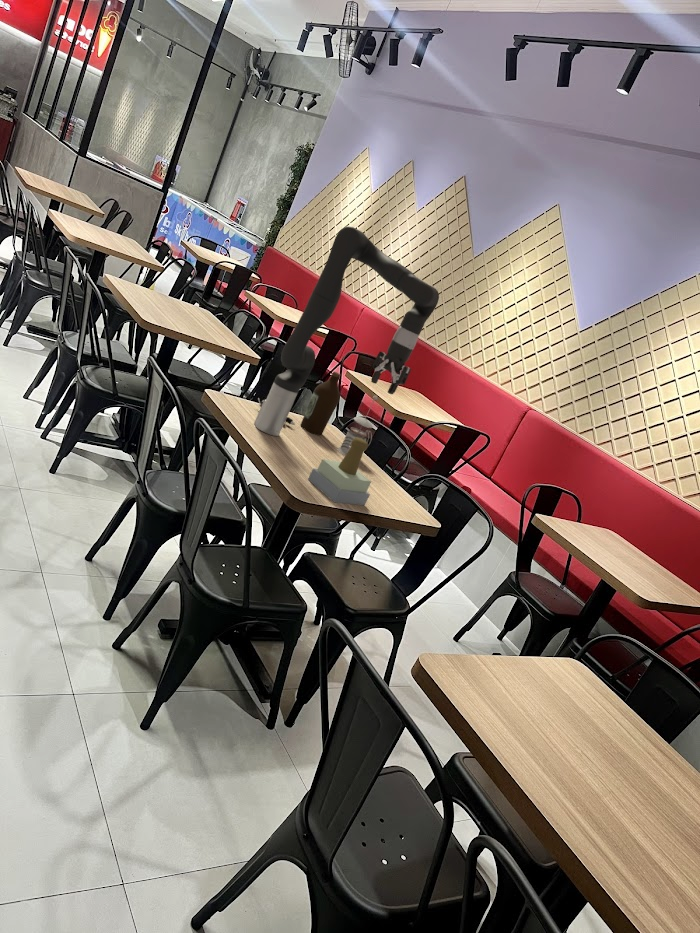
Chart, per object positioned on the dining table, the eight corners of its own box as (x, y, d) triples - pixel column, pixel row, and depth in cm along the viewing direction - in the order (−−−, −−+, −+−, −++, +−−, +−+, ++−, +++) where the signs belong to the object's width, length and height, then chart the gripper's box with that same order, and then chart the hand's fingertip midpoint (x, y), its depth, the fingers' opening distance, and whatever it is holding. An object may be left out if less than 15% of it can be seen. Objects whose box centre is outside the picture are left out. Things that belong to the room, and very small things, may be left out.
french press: (349, 449, 276) (376, 392, 269) (367, 463, 269) (395, 405, 262) (332, 446, 269) (359, 388, 262) (350, 460, 262) (379, 401, 255)
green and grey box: (307, 479, 220) (318, 457, 218) (338, 483, 230) (348, 462, 228) (334, 502, 211) (345, 479, 209) (364, 505, 221) (375, 483, 219)
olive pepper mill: (347, 466, 222) (361, 436, 220) (359, 475, 219) (374, 445, 216) (334, 464, 218) (349, 433, 215) (347, 474, 214) (362, 443, 211)
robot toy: (293, 431, 268) (280, 413, 279) (298, 421, 266) (284, 403, 277) (266, 424, 261) (253, 405, 272) (271, 413, 259) (258, 395, 270)
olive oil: (320, 429, 284) (345, 374, 278) (325, 438, 275) (352, 381, 268) (296, 420, 280) (322, 364, 274) (301, 429, 271) (327, 371, 264)
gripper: (381, 332, 228) (360, 377, 232) (410, 349, 219) (388, 395, 223) (396, 338, 234) (375, 381, 238) (424, 354, 225) (402, 399, 229)
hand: (381, 388), depth 231 cm, fingers open, 8 cm apart
